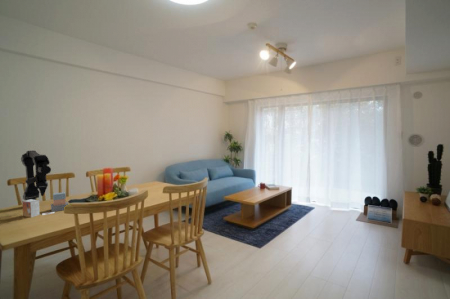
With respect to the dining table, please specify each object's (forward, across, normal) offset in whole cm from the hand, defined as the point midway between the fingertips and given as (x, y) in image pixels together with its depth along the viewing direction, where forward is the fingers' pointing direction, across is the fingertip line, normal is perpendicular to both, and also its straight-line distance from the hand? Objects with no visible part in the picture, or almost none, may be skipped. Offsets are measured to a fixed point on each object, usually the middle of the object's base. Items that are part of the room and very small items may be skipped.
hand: (42, 194), depth 163 cm
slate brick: (+5, 0, +10) cm, 11 cm away
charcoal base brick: (+13, 0, +10) cm, 16 cm away
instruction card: (+13, +5, +3) cm, 14 cm away
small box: (+13, +3, -6) cm, 15 cm away
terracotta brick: (+9, 0, +10) cm, 13 cm away
